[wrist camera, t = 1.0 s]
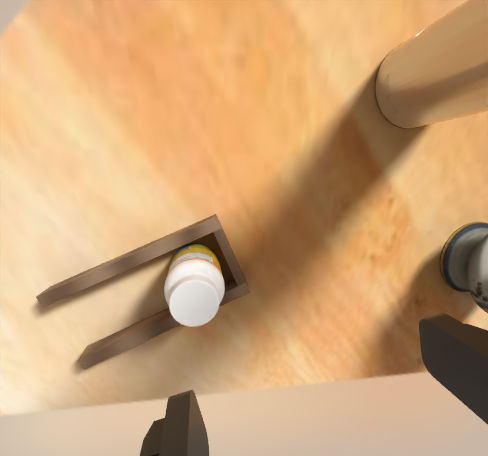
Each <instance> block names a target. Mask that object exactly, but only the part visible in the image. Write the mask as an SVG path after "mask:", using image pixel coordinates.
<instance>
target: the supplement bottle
mask: <svg viewBox="0 0 488 456" xmlns="http://www.w3.org/2000/svg"><path fill="white" fill-rule="evenodd" d="M224 291H225V284H224V279H223V275H222V271H221V268H220V264H219V261H218V258H217V256H216V254H215V253H214V252H213V251H212V250H211V249H210V248H208V247H206V246H204V245H200V244H191V245H187V246H185V247H183V248H181V249H180V250H179V251H177V253H176V254H175V255H174V257H173V259H172V261H171V265H170V268H169V271H168V274H167V278H166V281H165V286H164V295H165V299H166V301H167V304H168V305H169V310H170V313H171V315H172V316H173V318H174V319H175V320H176V321H177V322H179V323H180V324H182V325H185V326H189V327H197V326H201V325H204V324H206V323H207V322H209V321H210V320H211V319H212V318H213V317H214V316H215V315H216V313H217V311H218V308H219V304H220V303H221V301H222V299H223V296H224Z"/></svg>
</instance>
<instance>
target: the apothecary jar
mask: <svg viewBox="0 0 488 456" xmlns="http://www.w3.org/2000/svg"><path fill="white" fill-rule="evenodd" d="M440 268H441V273H442V276H443V278H444V280H445V282H446V283H447V284H448V285H449V286H450V287H451V288H453V289H455V290H457V291H460V292H471V294H472V297H473V299H474V300H475V302H476V303H477V305H478V306H479V307H480V308H481V309H483V310H484V311H485V312H487V313H488V224H487V223H484V222H472V223H469V224H467V225H464V226H463V227H461V228H459V229H458V230H457V231H455V232H454V233H453V234H452V235H451V237H450V238H449V239H448V241H447V242H446V244H445V246H444V248H443V251H442V255H441V261H440Z"/></svg>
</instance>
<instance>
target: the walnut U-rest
mask: <svg viewBox="0 0 488 456" xmlns="http://www.w3.org/2000/svg"><path fill="white" fill-rule="evenodd" d="M212 232H214V235H215V237H216V239H217V241H218V244H219V246H220V248H221V250H222V252H223V255H224V257H225V259H226V261H227V263H228V266H229V268H230V270H231V272H232V274H233V277H234V279H231V280H229V281H227V282H225V283H224V284H225V291H224V296H223V299H222V301H221V303H220V304H219V306H221V305H224V304H226V303H228V302H230V301H232V300H234V299H236V298H239V297H241V296H243V295H245V294H247V293H249V292H250V290H249V287H248V285H247V283H246V281H245V278H244V276H243V274H242V272H241V269H240V267H239V265H238V263H237V260H236V258H235V256H234V254H233V251H232V249H231V247H230V244H229V242H228V240H227V238H226V235H225V233H224V231H223V229H222V226H221V224H220V222H219V220H218V217H217V216H216V214H215V215H213V216H211V217H208V218H206V219H204V220H202V221H199V222H197V223H195V224H192V225H190V226H188V227H185V228H183V229H181V230H179V231H176V232H174V233H172V234H169V235H167V236H165V237H163V238H160V239H158V240H156V241H153V242H151V243H149V244H147V245H144V246H142V247H140V248H137V249H135V250H133V251H131V252H128V253H126V254H124V255H121V256H119V257H117V258H115V259H112V260H110V261H108V262H105V263H103V264H101V265H99V266H96V267H94V268H92V269H89V270H87V271H85V272H82V273H80V274H78V275H76V276H73V277H71V278H69V279H66V280H64V281H62V282H60V283H57V284H55V285H53V286H50V287H49V288H48V289H46V290H45V291H44V292H42V293H41V294H39V295H38V296H37V297H36V298H37V299H38V301H39V302H40V304H41V305H42V307H45V306H47V305H49V304H52V303H54V302H56V301H58V300H61V299H63V298H65V297H67V296H70V295H72V294H74V293H76V292H79V291H81V290H83V289H86V288H88V287H90V286H92V285H95V284H97V283H99V282H101V281H104V280H106V279H108V278H110V277H113V276H115V275H117V274H119V273H122V272H124V271H126V270H128V269H131V268H133V267H135V266H138V265H140V264H142V263H144V262H147V261H149V260H151V259H153V258H156V257H158V256H160V255H162V254H165V253H167V252H169V251H171V250H174V249H176V248H178V247H180V246H183V245H185V244H187V243H189V242H192V241H194V240H196V239H199V238H201V237H203V236H205V235H208V234H210V233H212ZM179 325H181V324H180V323H179V322H177V321H176V320H175V319H174V318H173V316H172V315H171V313H170V310H169V309H166V310H164V311H162V312H160V313H158V314H156V315H153V316H151V317H149V318H147V319H145V320H143V321H140V322H138V323H136V324H134V325H132V326H130V327H127V328H125V329H123V330H121V331H119V332H117V333H114V334H112V335H110V336H108V337H106V338H104V339H101V340H99V341H97V342H95V343H93V344H91V345H88V346H87V348H86V349H85V351H84V352H83V354H82V355H81V357H80V359H79V360H78V362H79V363H80V365H81V366H82V368H83V369H84V370H85V369H87V368H89V367H91V366H93V365H96V364H98V363H100V362H102V361H104V360H106V359H108V358H110V357H113V356H115V355H117V354H119V353H121V352H123V351H125V350H128V349H130V348H132V347H134V346H136V345H138V344H140V343H143V342H145V341H147V340H149V339H151V338H153V337H155V336H157V335H160V334H162V333H164V332H166V331H168V330H170V329H172V328H175V327H177V326H179Z"/></svg>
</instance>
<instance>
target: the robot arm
mask: <svg viewBox="0 0 488 456" xmlns="http://www.w3.org/2000/svg"><path fill="white" fill-rule="evenodd" d="M376 97H377V102H378V105H379V107H380V110H381V111H382V113H383V115H384V116H385V117H386V118H387V119H388V120H389V121H390V122H391V123H393V124H394V125H396V126H399V127H402V128H415V127H420V126H424V125H428V124H433V123H437V122H441V121H446V120H451V119H455V118H459V117H463V116H468V115H472V114H476V113H480V112H485V111H488V0H468V1H466V2H465V3H463V4H462V5H460V6H459V7H457V8H456V9H454V10H453V11H451V12H449V13H448V14H446V15H445V16H443V17H442V18H440V19H439V20H437V21H436V22H434V23H433V24H431V25H430V26H428V27H427V28H425V29H423V30H422V31H420V32H419V33H417V34H416V35H414V36H413V37H411V38H410V39H408V40H407V41H405V42H404V43H402V44H401V45H399V46H398V47H397V48H395V49H394V50H392V51H391V52H390V53H389V54H388V55H387V56H386V58H385V59H384V61H383V62H382V64H381V66H380V69H379V71H378V74H377V79H376ZM419 331H420V341H421V352H422V359H423V362H424V364H425V366H426V368H427V370H428V371H429V373H430V374H431V375H432V376H433V377H434V378H435V379H436V380H437V381H439V382H440V383H441V384H442V385H443V386H444V387H445V388H447V389H448V390H449V391H450V392H451V393H452V394H454V395H455V396H456V397H457V398H458V399H459V400H460V401H462V402H463V403H464V404H465V405H466V406H467V407H468V408H469V409H471V410H472V411H473V412H474V413H475V414H476V415H477V416H479V417H480V418H481V419H482V420H483V421H484V422H485V423H487V424H488V331H487V330H484V329H481V328H478V327H475V326H472V325H469V324H463V323H461V322H459V321H458V320H456V319H454V318H452V317H451V316H449V315H447V314H443V313H442V314H438V315H435V316H431V317H428V318H425V319H422V320H421V321H420V322H419ZM140 456H209V445H208V438H207V432H206V428H205V425H204V421H203V418H202V415H201V412H200V409H199V406H198V403H197V399H196V396H195V393H194V391H193V390H190V391H187V392H183V393H180V394H177V395H174V396H171V397H169V399H168V403H167V409H166V416H165V418H163V419H160V420H157V421H154V422H153V424H152V426H151V427H150V429H149V431H148V433H147V434H146V436H145V438H144V440H143V444H142V449H141V453H140Z"/></svg>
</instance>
